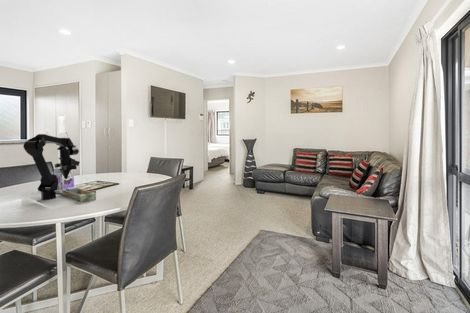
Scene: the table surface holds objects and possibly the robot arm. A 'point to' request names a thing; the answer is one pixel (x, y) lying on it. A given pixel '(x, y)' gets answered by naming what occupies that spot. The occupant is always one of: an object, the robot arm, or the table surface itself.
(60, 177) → the candy box
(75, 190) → the block
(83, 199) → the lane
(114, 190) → the table surface
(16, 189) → the table surface
